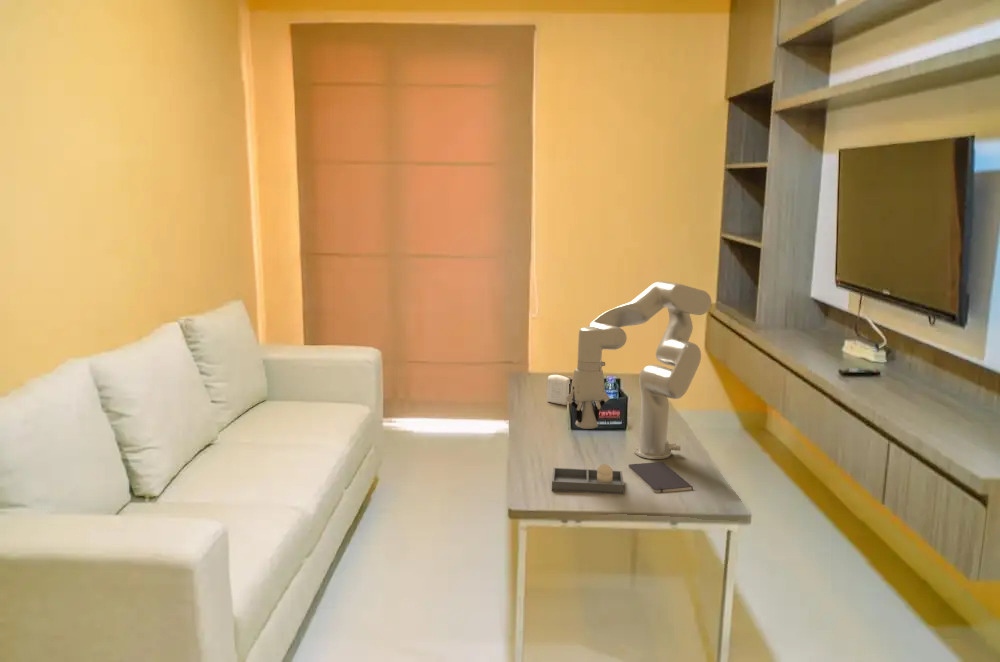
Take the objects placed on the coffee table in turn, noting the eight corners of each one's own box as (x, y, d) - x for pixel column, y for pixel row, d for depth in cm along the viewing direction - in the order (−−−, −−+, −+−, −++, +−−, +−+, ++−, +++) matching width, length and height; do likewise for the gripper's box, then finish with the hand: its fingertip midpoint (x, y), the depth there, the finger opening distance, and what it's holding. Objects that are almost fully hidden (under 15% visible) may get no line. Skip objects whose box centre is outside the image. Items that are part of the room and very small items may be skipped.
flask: (602, 428, 230) (603, 398, 228) (582, 430, 227) (584, 400, 225) (590, 421, 237) (591, 392, 235) (571, 424, 234) (572, 394, 232)
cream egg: (611, 481, 226) (612, 462, 224) (612, 487, 221) (613, 468, 220) (596, 480, 226) (597, 461, 225) (596, 486, 221) (597, 467, 220)
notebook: (692, 491, 222) (662, 465, 242) (692, 486, 221) (662, 461, 242) (654, 494, 219) (627, 468, 239) (654, 489, 219) (627, 464, 239)
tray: (621, 479, 228) (621, 470, 228) (623, 494, 218) (623, 485, 217) (553, 476, 231) (553, 467, 230) (551, 490, 220) (551, 481, 219)
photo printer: (570, 403, 310) (571, 376, 308) (566, 406, 307) (566, 378, 304) (550, 399, 316) (550, 372, 314) (545, 402, 312) (545, 374, 310)
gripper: (609, 362, 234) (607, 415, 237) (560, 364, 230) (558, 418, 233) (618, 367, 227) (615, 422, 230) (567, 369, 223) (565, 425, 226)
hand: (586, 420), depth 231 cm, fingers closed on flask, 4 cm apart
